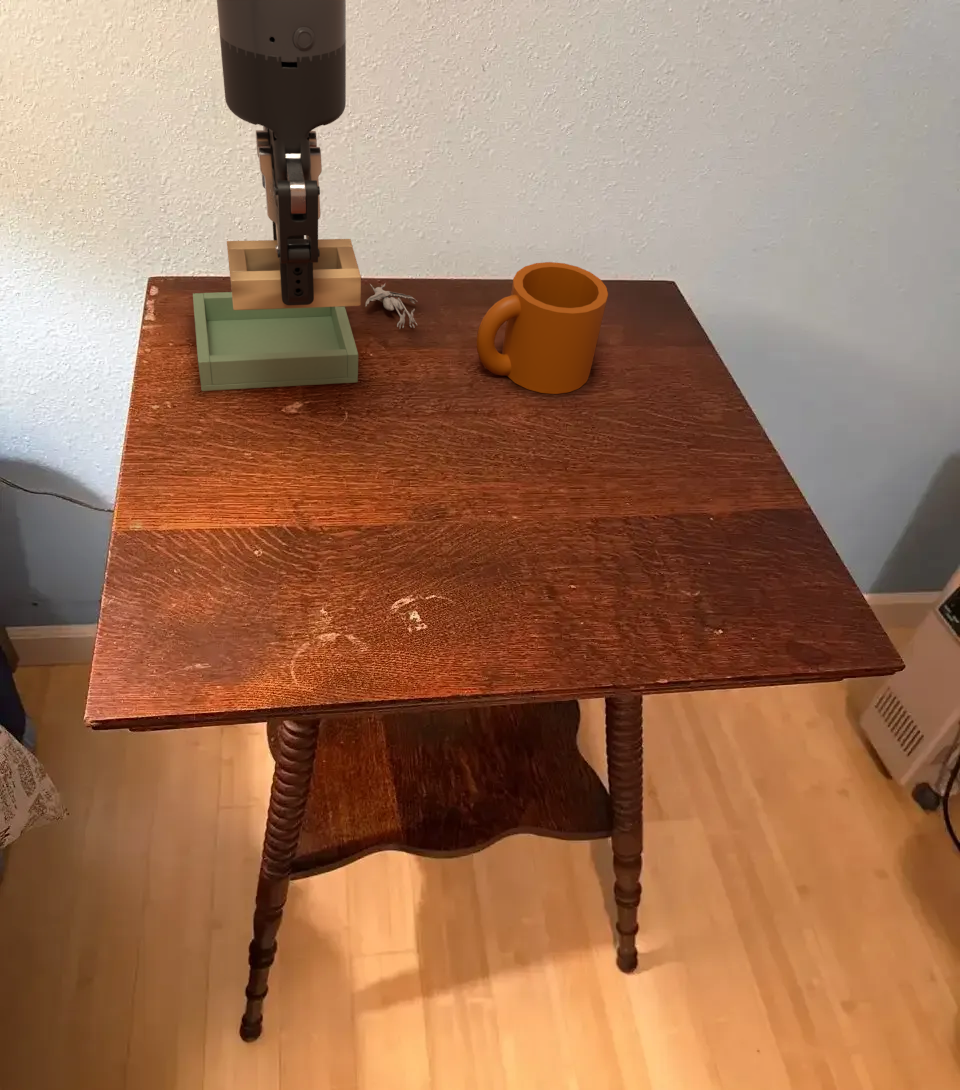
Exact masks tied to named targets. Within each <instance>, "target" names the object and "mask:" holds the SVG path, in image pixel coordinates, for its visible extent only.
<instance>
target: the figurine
mask: <svg viewBox="0 0 960 1090" xmlns="http://www.w3.org/2000/svg"><path fill="white" fill-rule="evenodd" d="M369 286H370V287H371V290H373V292H374V295H371V296H369V297H368V298H367V299H366V301H365V308H367V306H368V305H369V304H370V301H371V302H374V301H376V300H377V301H379V302H380V303H382V305H383V308H384V309H385V310H386V311H392V312H393V311H394V310H396V312H397V314H398V316H399V321H397V324H396V327H397V328H398V327H399V329H401V327H402V329H404V327H405V324H406V315H407V317H408V319H409V320H408V321H409V323H408V324H409V327H410V328H413V329H415V328H416V327H415V325H416V326H418V323H417V321H416V319H415V318H414V312H415V311H416V309H415V308H413V309H412V310H411V311H410V312H409V311H408V310H407V308H406V306H405V304H404V303H403V301H402V299H406V300H408V301H409V302H411V303H412V304H416V303H417V300H416V298H414V297H413V296H412V295H409V294H408V295H407V294H405V293H401V292H400V293H399V292H395V291H390V290H384V289H383V288H385V287H386V283H384V284H383V285H381V286H376V287H374V286H373V285H372V284H371V283H369ZM402 310H403V312H402V314H401V313H400V312H401V311H402Z"/></svg>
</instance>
